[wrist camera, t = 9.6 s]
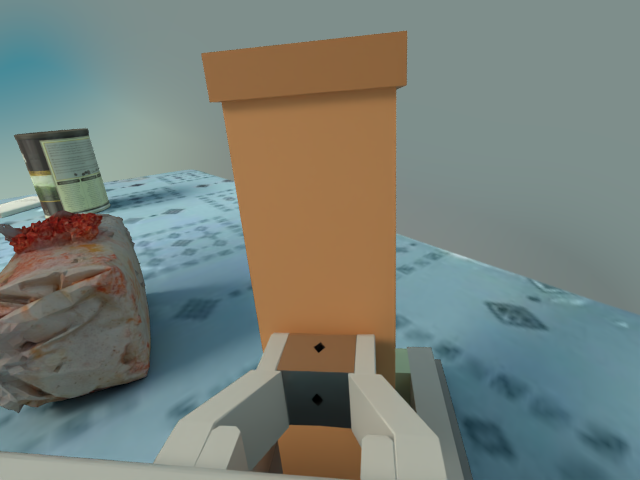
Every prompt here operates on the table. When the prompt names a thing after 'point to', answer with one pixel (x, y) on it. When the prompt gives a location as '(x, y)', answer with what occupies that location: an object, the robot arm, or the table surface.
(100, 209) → the coffee can
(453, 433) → the grey flat rectangular frame
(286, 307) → the lever
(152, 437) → the table surface
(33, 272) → the food item
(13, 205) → the external hard drive
